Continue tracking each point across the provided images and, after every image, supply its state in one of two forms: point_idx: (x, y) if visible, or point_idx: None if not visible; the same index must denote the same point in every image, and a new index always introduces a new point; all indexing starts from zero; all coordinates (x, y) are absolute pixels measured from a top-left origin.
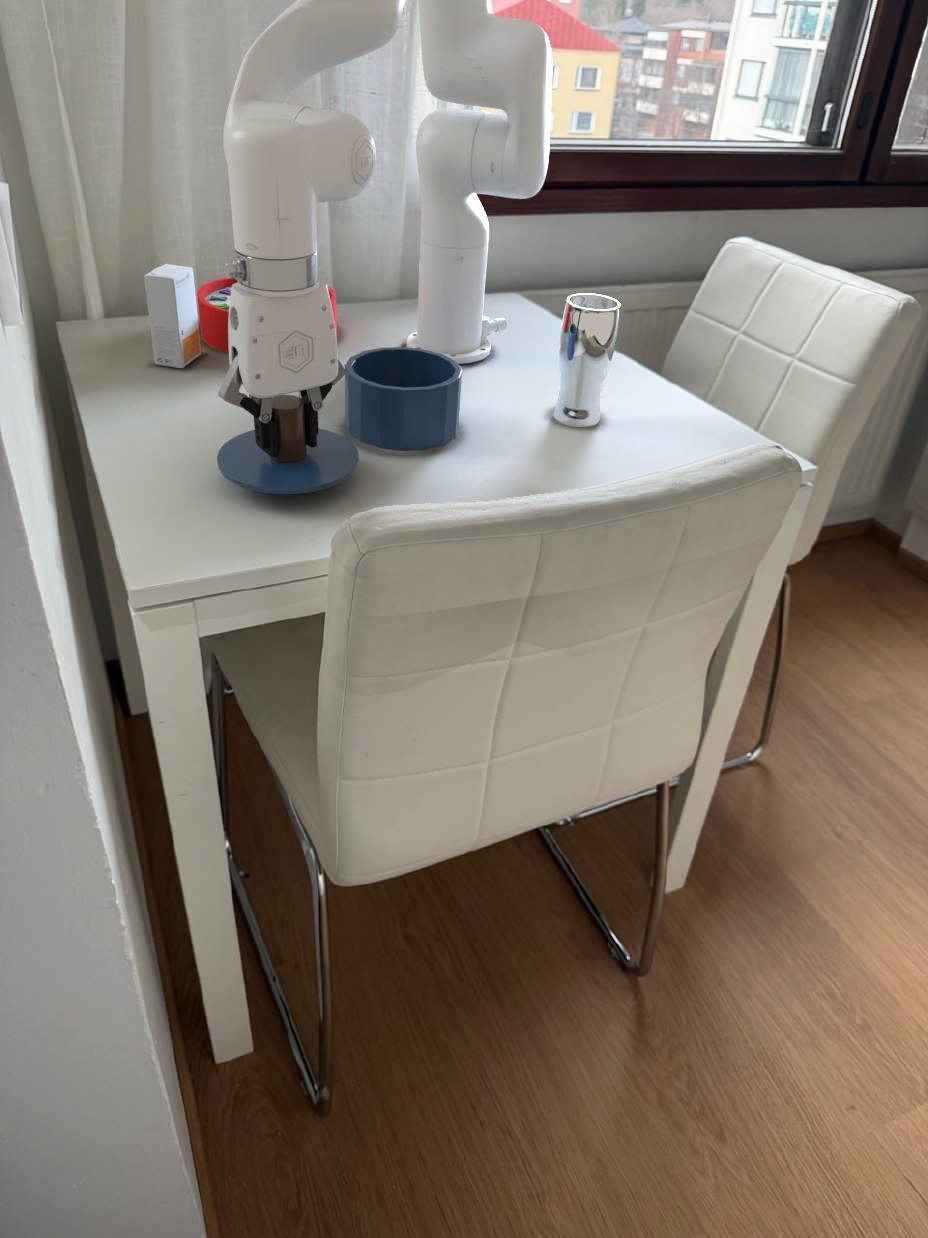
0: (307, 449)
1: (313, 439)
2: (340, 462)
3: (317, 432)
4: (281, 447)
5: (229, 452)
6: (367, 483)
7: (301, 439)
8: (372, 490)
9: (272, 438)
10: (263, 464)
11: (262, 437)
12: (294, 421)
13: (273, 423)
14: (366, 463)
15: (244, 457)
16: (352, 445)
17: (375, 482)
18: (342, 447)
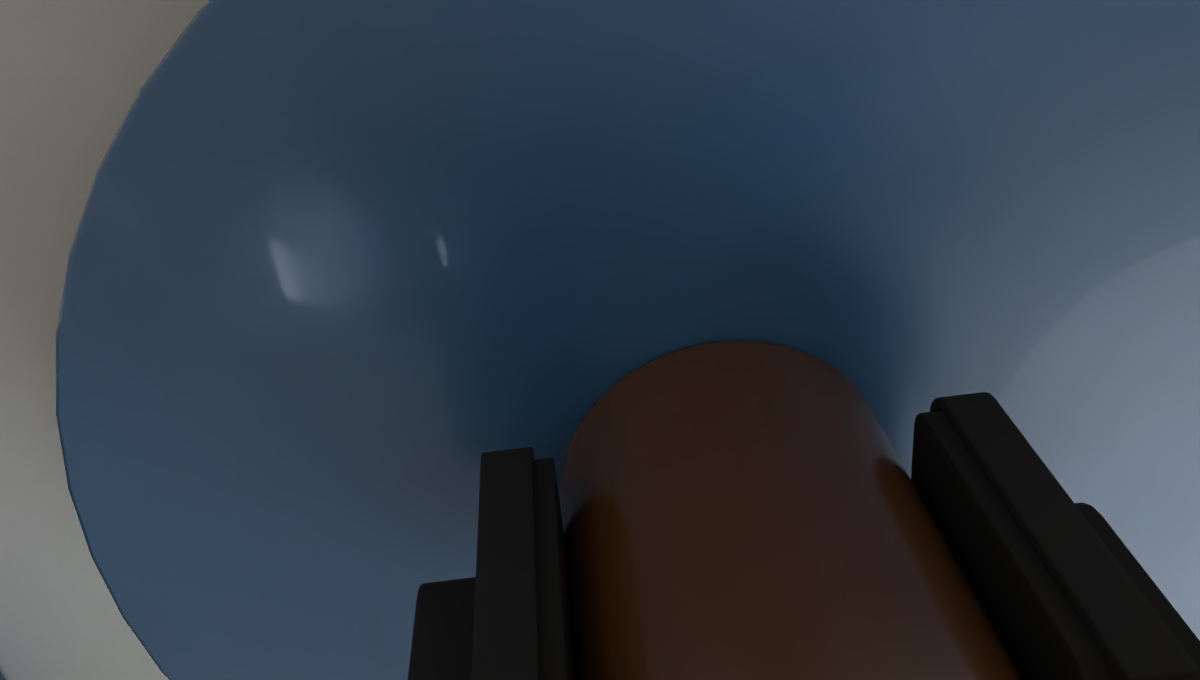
0: None
1: (520, 494)
2: (314, 176)
3: (432, 588)
4: (896, 465)
5: None
6: (87, 143)
7: (688, 486)
8: (75, 11)
9: (1081, 517)
10: None
11: (1142, 578)
12: (842, 651)
13: (1152, 664)
14: (10, 430)
15: None
16: (78, 447)
17: (11, 133)
18: (191, 445)
